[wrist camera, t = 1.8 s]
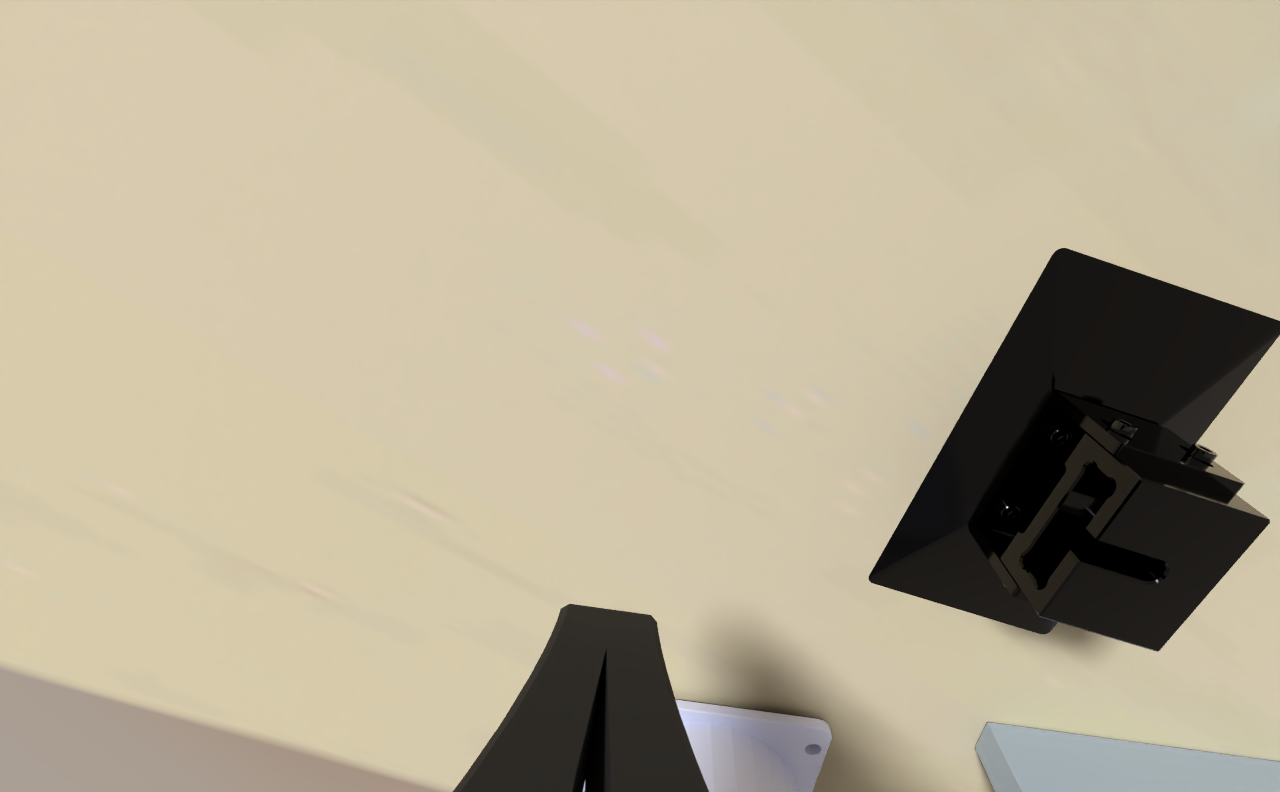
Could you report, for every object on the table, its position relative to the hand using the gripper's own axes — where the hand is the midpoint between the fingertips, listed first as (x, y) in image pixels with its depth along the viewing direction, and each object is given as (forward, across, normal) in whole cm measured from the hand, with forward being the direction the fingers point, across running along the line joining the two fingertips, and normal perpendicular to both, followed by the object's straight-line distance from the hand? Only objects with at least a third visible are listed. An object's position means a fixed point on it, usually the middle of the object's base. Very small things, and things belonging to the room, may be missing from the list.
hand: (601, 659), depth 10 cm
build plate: (+10, -12, 0) cm, 15 cm away
